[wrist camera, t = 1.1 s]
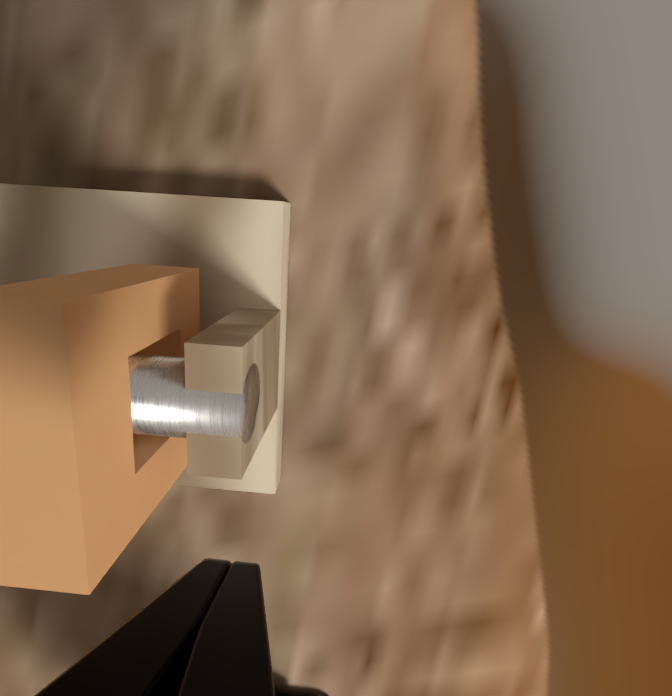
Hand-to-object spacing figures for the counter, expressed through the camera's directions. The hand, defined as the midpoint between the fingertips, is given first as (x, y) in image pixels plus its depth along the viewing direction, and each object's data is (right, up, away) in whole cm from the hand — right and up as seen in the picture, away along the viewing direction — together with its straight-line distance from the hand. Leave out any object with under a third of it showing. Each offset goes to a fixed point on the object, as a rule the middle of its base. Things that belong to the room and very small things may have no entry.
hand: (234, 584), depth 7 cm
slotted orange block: (-5, +3, +10) cm, 12 cm away
